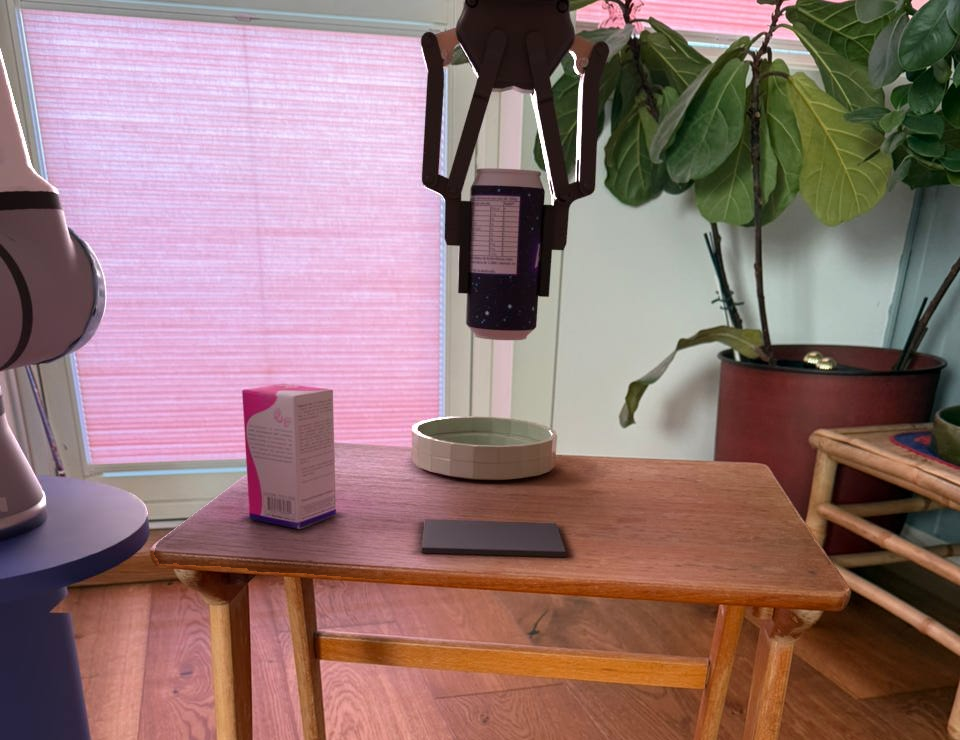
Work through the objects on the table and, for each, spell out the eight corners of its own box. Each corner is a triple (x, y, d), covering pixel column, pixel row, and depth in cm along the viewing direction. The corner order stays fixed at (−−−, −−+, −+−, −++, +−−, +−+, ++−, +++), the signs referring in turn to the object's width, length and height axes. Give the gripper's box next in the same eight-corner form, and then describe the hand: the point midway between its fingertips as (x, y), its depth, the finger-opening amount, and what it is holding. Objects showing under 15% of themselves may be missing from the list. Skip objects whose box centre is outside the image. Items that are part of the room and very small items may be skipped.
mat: (421, 553, 75) (421, 547, 75) (424, 524, 83) (424, 519, 82) (565, 557, 76) (566, 551, 76) (555, 528, 83) (556, 523, 83)
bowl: (408, 481, 96) (409, 443, 94) (414, 447, 111) (415, 414, 109) (561, 486, 97) (564, 449, 95) (546, 451, 111) (549, 418, 110)
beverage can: (544, 342, 72) (555, 171, 67) (473, 340, 70) (480, 166, 65) (525, 333, 77) (534, 174, 72) (459, 332, 75) (464, 170, 70)
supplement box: (338, 514, 84) (335, 388, 79) (298, 530, 79) (292, 396, 75) (288, 504, 87) (282, 380, 82) (247, 519, 82) (238, 389, 77)
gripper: (643, -43, 66) (611, 295, 76) (387, -59, 65) (387, 286, 75) (665, -74, 59) (627, 302, 69) (380, -91, 59) (381, 292, 68)
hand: (502, 293), depth 72 cm, fingers closed on beverage can, 6 cm apart
